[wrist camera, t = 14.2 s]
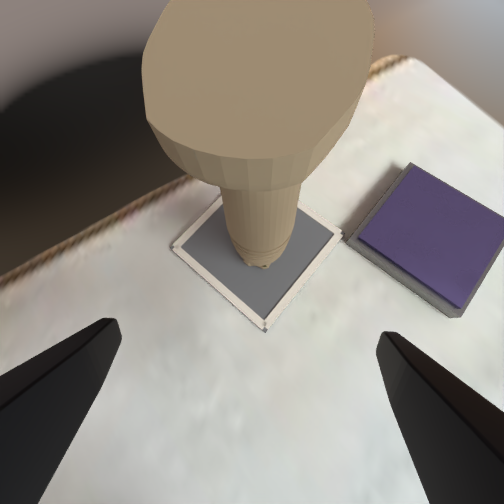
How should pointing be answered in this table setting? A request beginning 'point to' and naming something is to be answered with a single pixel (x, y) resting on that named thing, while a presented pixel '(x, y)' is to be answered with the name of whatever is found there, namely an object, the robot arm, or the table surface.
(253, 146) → the handle
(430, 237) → the ink pad
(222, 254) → the stamp mat
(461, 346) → the table surface
